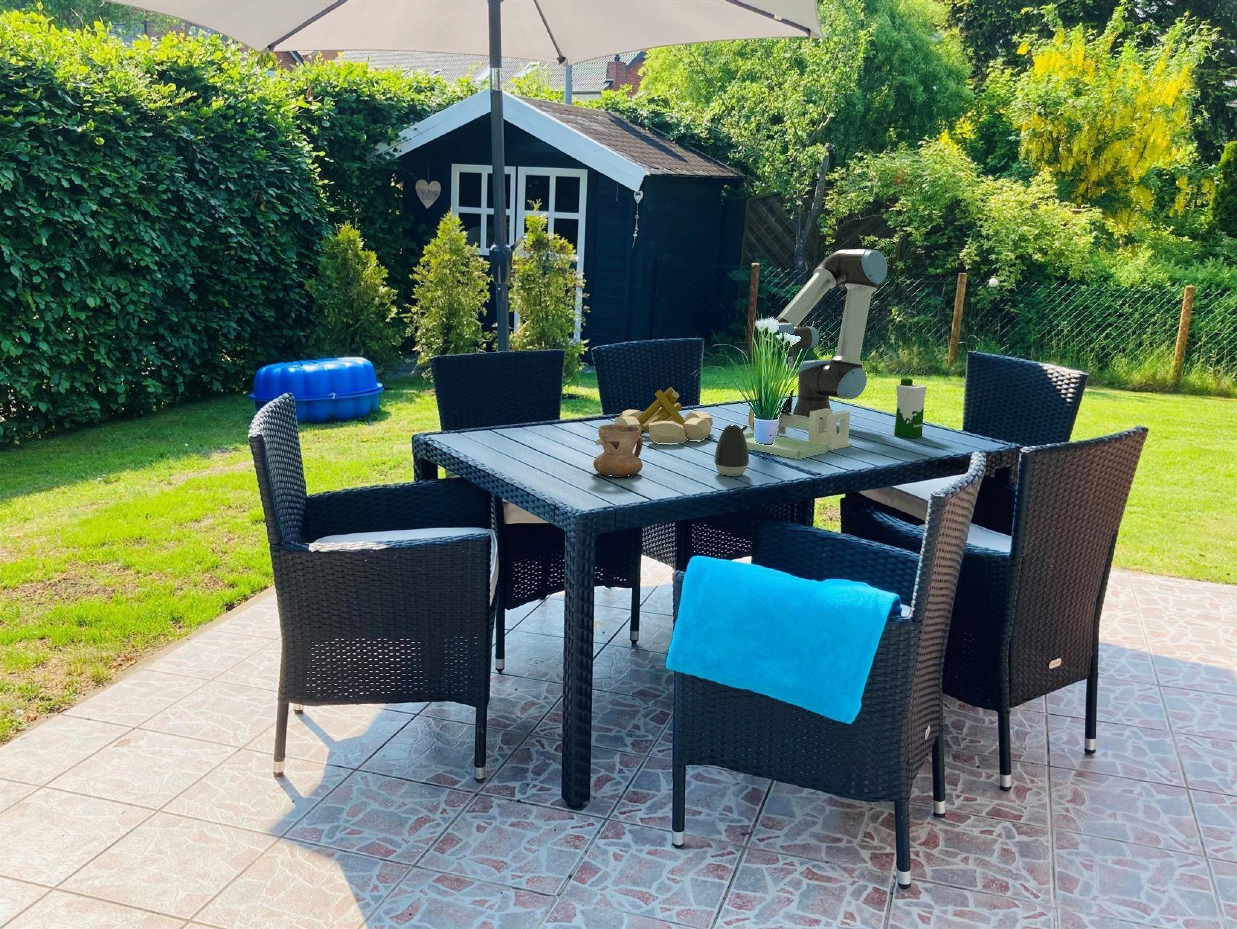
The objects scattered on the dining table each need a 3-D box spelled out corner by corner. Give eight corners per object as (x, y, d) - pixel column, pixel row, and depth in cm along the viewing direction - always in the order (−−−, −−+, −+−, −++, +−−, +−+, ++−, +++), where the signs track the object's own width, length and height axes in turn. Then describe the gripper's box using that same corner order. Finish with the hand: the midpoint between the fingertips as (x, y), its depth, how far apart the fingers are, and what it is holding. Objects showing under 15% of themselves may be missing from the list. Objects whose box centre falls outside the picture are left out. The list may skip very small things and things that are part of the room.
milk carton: (904, 432, 388) (908, 377, 383) (926, 436, 381) (930, 380, 377) (890, 435, 382) (893, 379, 378) (911, 439, 375) (916, 382, 371)
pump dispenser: (756, 476, 319) (758, 425, 315) (728, 480, 313) (730, 428, 310) (734, 469, 327) (736, 420, 324) (707, 473, 322) (708, 423, 318)
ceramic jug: (611, 483, 308) (613, 434, 305) (579, 473, 319) (581, 426, 316) (657, 475, 320) (660, 428, 317) (625, 466, 330) (627, 420, 327)
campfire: (727, 433, 384) (729, 385, 380) (689, 450, 355) (690, 399, 351) (640, 423, 400) (640, 378, 396) (595, 439, 371) (596, 390, 367)
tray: (752, 438, 374) (752, 431, 373) (827, 452, 353) (827, 445, 352) (722, 444, 363) (722, 437, 362) (798, 459, 341) (799, 451, 341)
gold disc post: (743, 433, 381) (744, 400, 379) (763, 429, 390) (764, 396, 387) (809, 445, 362) (811, 410, 360) (829, 440, 371) (831, 406, 368)
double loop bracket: (804, 445, 364) (805, 411, 361) (824, 440, 372) (826, 407, 369) (831, 450, 356) (833, 416, 353) (851, 445, 364) (854, 411, 362)
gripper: (776, 371, 364) (773, 439, 370) (804, 366, 376) (801, 432, 381) (758, 369, 370) (755, 436, 375) (786, 364, 381) (783, 429, 386)
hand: (778, 434), depth 378 cm, fingers closed on gold disc post, 3 cm apart
